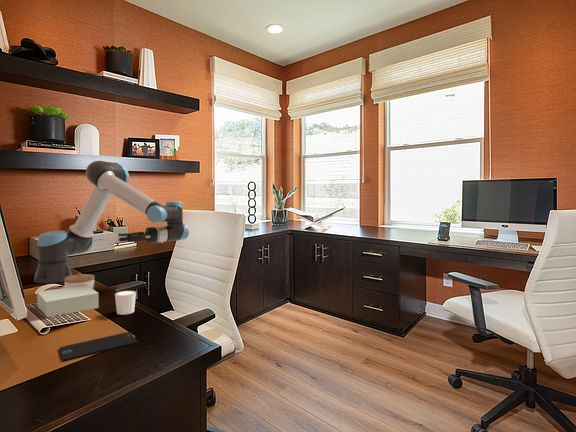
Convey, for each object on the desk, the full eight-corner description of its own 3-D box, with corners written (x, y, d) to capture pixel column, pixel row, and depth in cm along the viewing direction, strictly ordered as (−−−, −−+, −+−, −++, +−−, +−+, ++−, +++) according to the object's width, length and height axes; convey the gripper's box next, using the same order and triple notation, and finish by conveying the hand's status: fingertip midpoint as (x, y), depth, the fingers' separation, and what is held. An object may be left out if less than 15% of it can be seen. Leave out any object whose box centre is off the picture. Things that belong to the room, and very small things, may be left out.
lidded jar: (99, 294, 141) (99, 272, 141) (71, 301, 133) (71, 277, 132) (87, 290, 147) (86, 269, 147) (59, 296, 139) (59, 273, 138)
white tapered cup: (140, 310, 123) (140, 291, 123) (124, 316, 117) (123, 296, 116) (127, 307, 126) (126, 289, 125) (110, 313, 120) (110, 294, 119)
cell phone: (59, 350, 91) (59, 347, 91) (129, 334, 103) (129, 331, 103) (62, 363, 85) (62, 359, 85) (138, 344, 96) (138, 341, 96)
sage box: (37, 307, 125) (37, 291, 125) (86, 299, 136) (85, 284, 136) (46, 319, 114) (46, 301, 113) (98, 308, 125) (98, 293, 125)
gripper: (166, 244, 151) (114, 250, 137) (147, 240, 169) (100, 245, 156) (165, 227, 150) (113, 232, 136) (146, 226, 169) (99, 229, 155)
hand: (106, 239), depth 146 cm, fingers open, 13 cm apart
